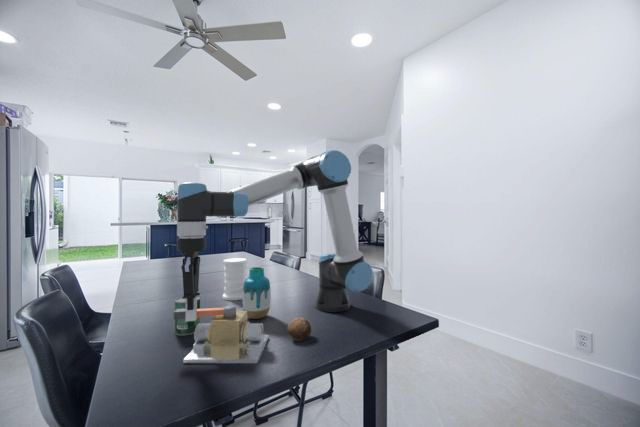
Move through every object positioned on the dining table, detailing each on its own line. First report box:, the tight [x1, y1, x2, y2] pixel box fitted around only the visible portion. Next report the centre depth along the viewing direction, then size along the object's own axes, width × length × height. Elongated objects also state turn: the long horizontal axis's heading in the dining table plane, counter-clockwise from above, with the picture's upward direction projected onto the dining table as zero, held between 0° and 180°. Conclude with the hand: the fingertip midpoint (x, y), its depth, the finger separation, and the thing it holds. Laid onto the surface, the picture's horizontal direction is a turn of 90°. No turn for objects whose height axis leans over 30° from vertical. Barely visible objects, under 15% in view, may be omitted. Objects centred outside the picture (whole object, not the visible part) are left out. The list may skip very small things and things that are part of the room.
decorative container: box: [222, 257, 248, 301], centre depth 133 cm, size 12×12×18 cm
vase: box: [242, 266, 272, 320], centre depth 105 cm, size 11×11×19 cm
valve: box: [182, 310, 269, 364], centre depth 80 cm, size 20×15×10 cm
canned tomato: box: [174, 295, 201, 337], centre depth 94 cm, size 8×8×11 cm
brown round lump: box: [286, 317, 312, 342], centre depth 89 cm, size 8×8×6 cm
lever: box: [173, 305, 237, 320], centre depth 79 cm, size 17×4×2 cm, turn 99°
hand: (191, 320), depth 77 cm, fingers closed
